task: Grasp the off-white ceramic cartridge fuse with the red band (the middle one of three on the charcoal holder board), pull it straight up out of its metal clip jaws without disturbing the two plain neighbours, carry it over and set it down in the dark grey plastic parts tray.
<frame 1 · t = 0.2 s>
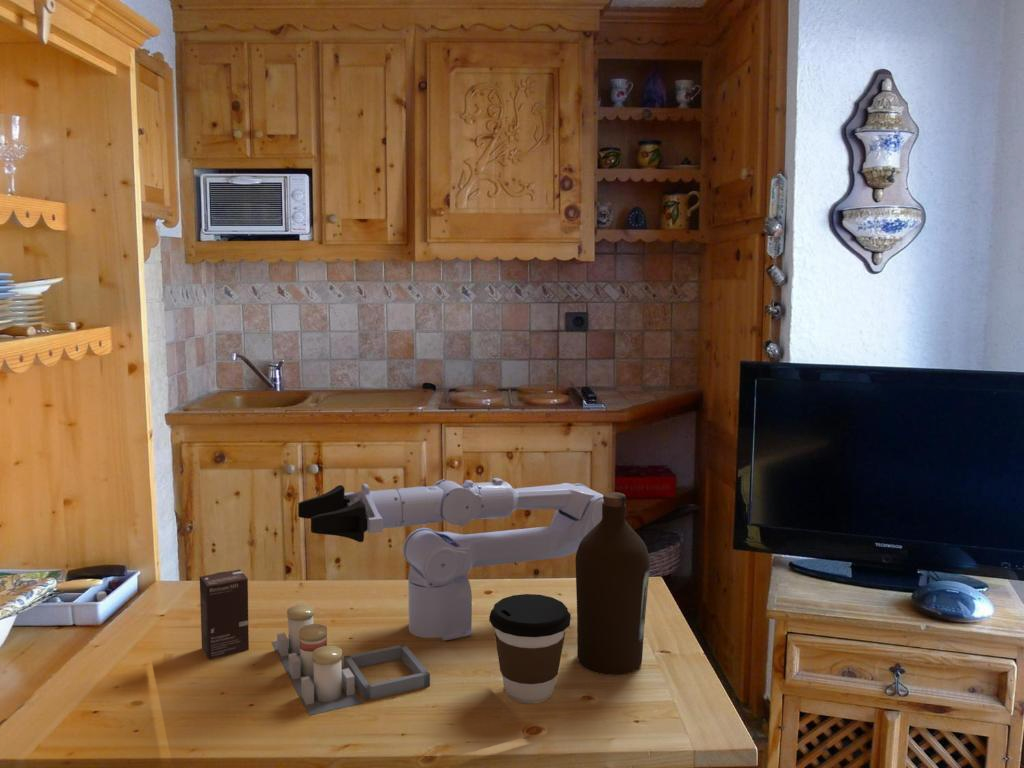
hand: (304, 517, 124), 21 cm above the table, tool horizontal, fingers open, 7 cm apart
coffee cup: (529, 693, 117), on the table
olive oil: (610, 662, 127), on the table
fuse left: (301, 648, 128), point 1 cm above the table, touching holder
box: (226, 655, 127), on the table
fuse right: (328, 694, 114), point 1 cm above the table, touching holder
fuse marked: (314, 670, 121), point 1 cm above the table, touching holder
tray: (386, 681, 120), on the table
holder: (314, 675, 121), on the table
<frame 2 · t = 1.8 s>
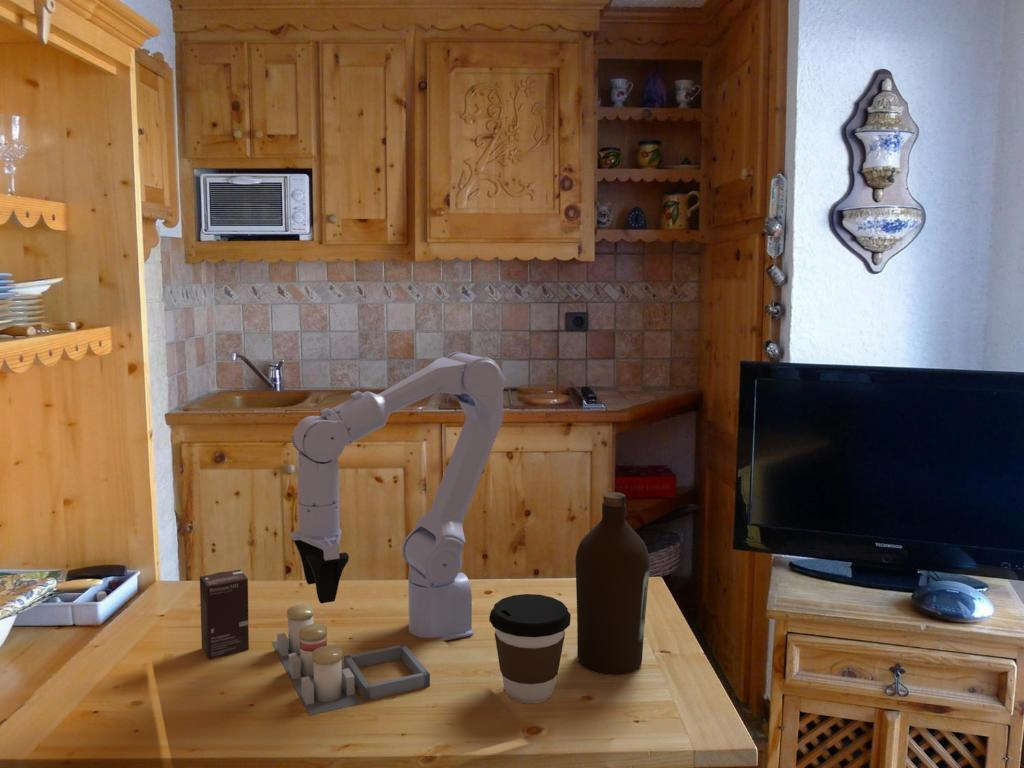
hand: (320, 592, 125), 10 cm above the table, tool pointing down, fingers open, 7 cm apart
nothing on the table moved.
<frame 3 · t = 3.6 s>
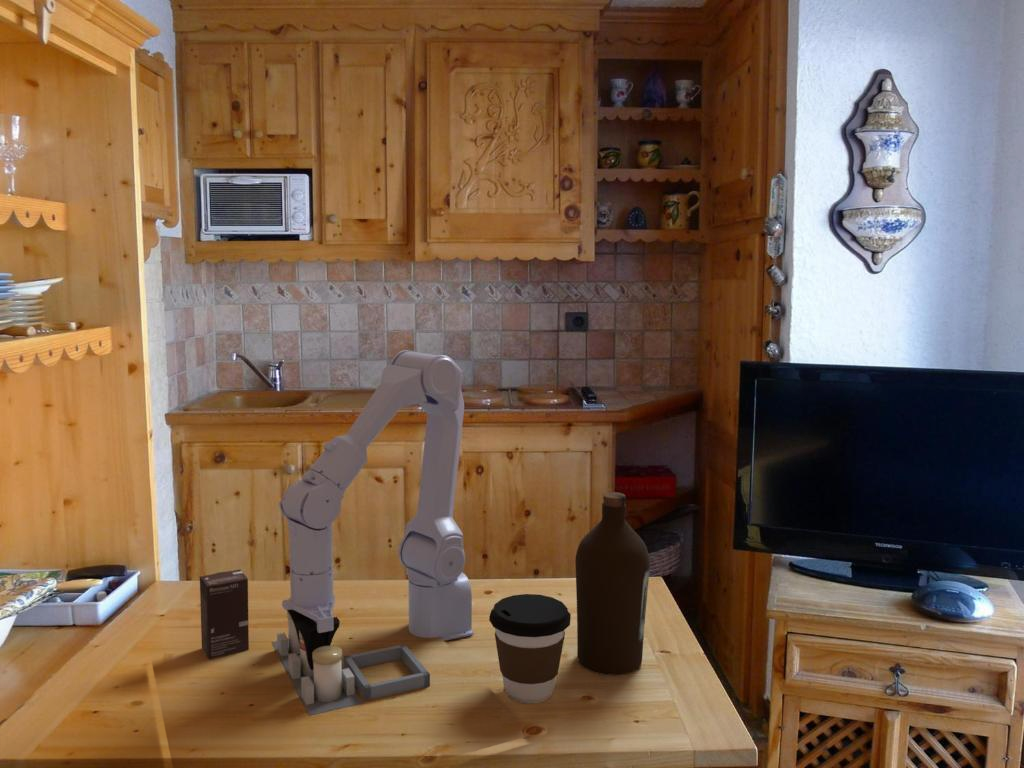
hand: (313, 661, 121), 2 cm above the table, tool pointing down, fingers closed on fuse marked, 4 cm apart
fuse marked: (314, 670, 121), point 1 cm above the table, touching gripper, holder
everything else where it was.
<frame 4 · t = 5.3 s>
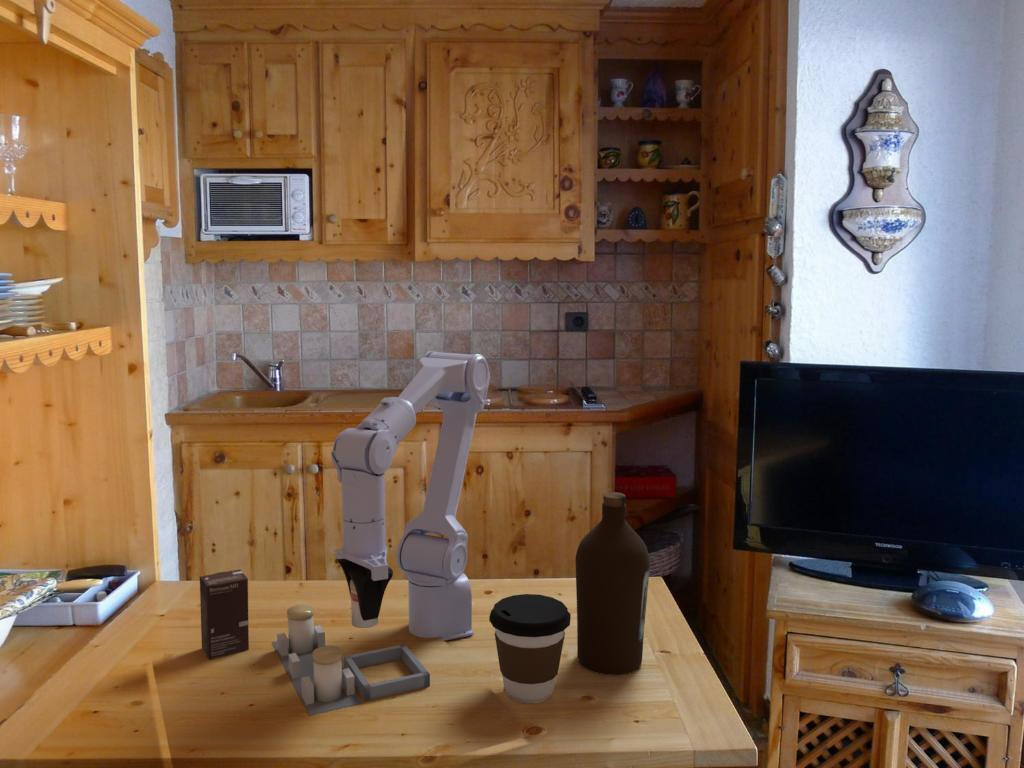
hand: (365, 612, 119), 10 cm above the table, tool pointing down, fingers closed on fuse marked, 4 cm apart
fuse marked: (364, 622, 119), point 8 cm above the table, touching gripper
everything else where it was.
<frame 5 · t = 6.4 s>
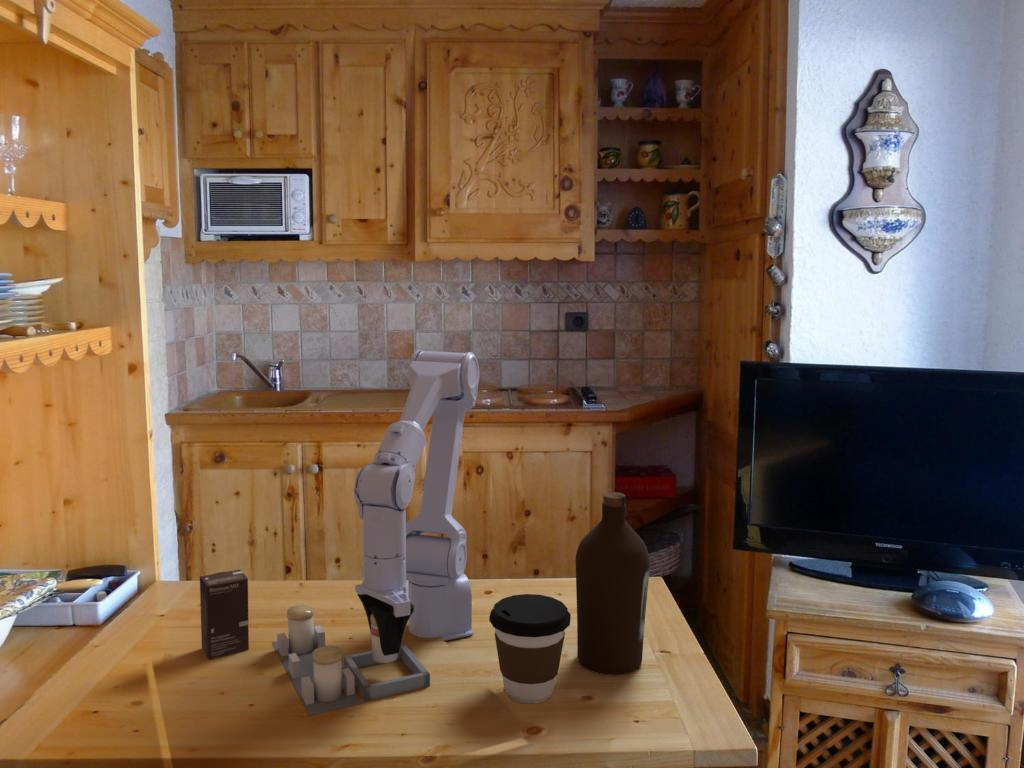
hand: (385, 647, 119), 5 cm above the table, tool pointing down, fingers closed on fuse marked, 4 cm apart
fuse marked: (385, 656, 119), point 4 cm above the table, touching gripper
everything else where it was.
when the fingers open (3 cm above the table, at t = 7.2 s): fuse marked drops 1 cm, resting on tray.
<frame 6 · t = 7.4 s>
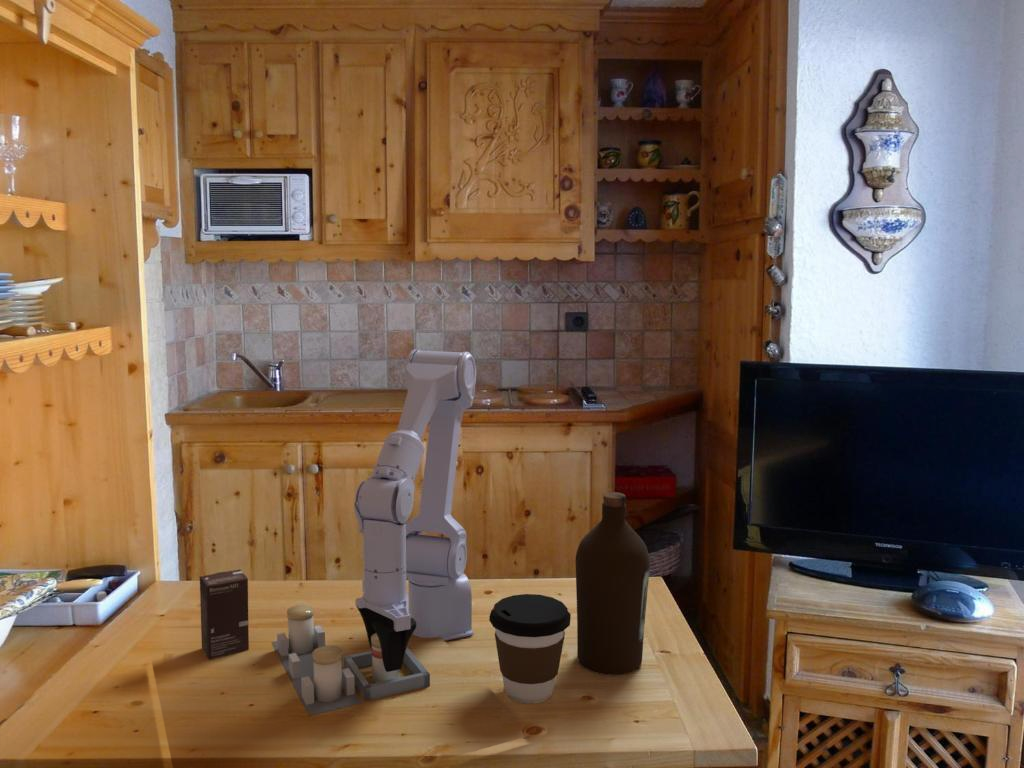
hand: (385, 660, 119), 3 cm above the table, tool pointing down, fingers open, 5 cm apart
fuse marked: (385, 678, 119), point 1 cm above the table, touching tray
everything else where it was.
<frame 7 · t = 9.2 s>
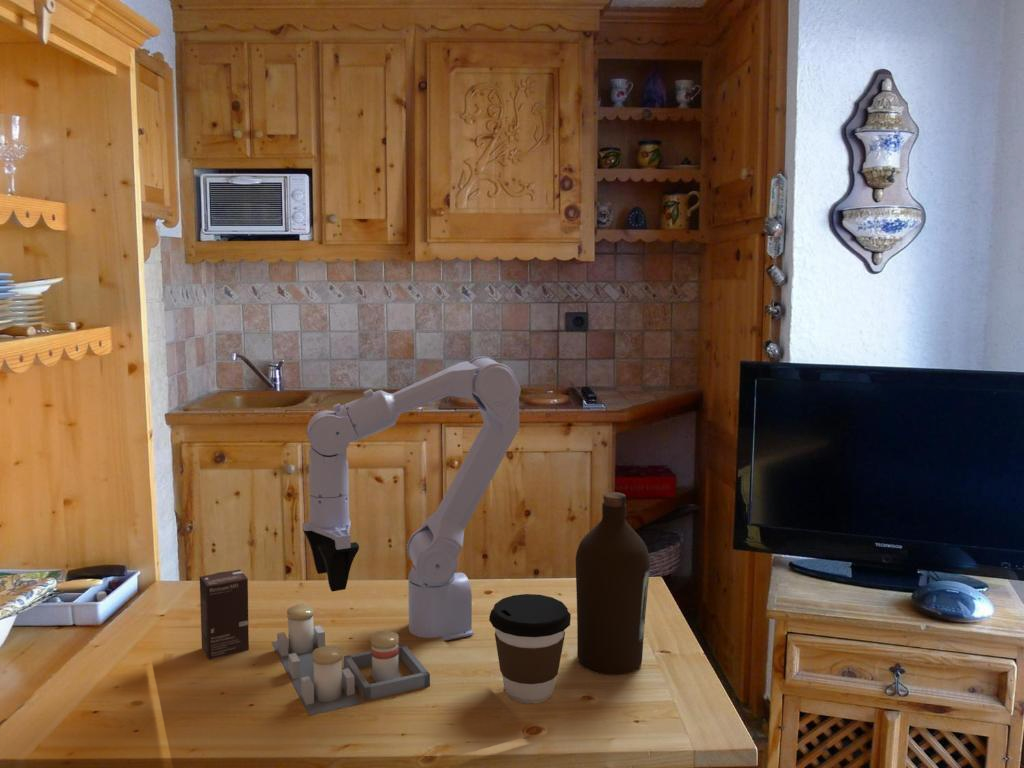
hand: (331, 580, 130), 10 cm above the table, tool pointing down, fingers open, 7 cm apart
nothing on the table moved.
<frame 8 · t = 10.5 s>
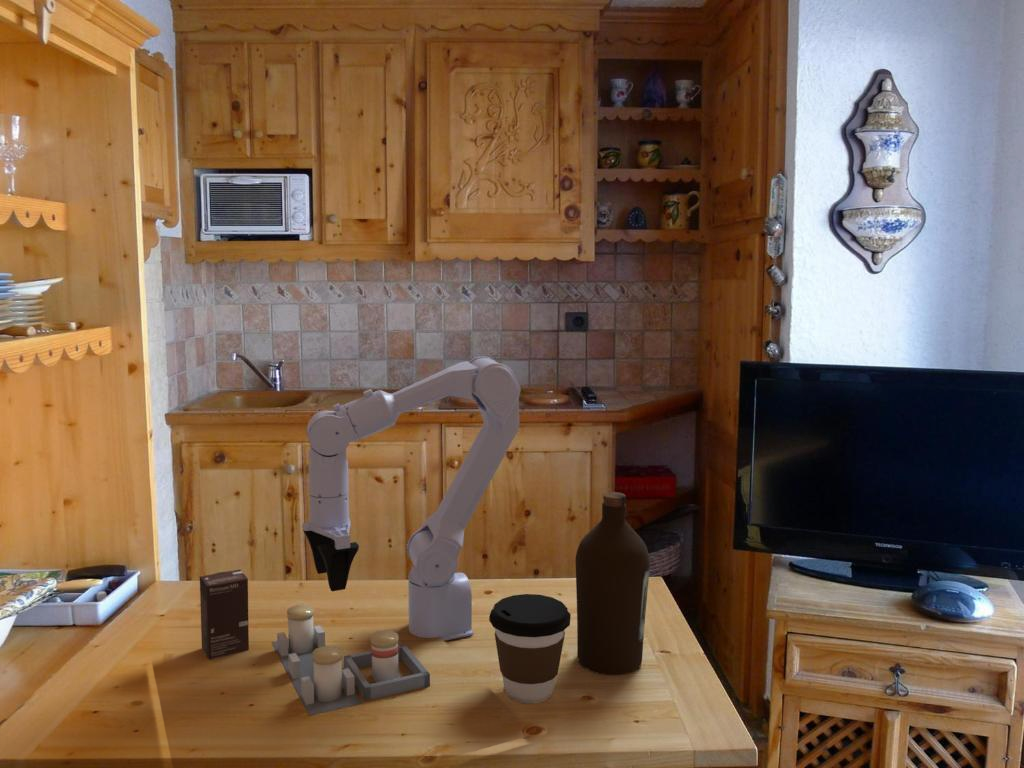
hand: (330, 580, 130), 10 cm above the table, tool pointing down, fingers open, 7 cm apart
nothing on the table moved.
at the end: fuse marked inside the target area on the tray (0.1 cm from its centre), point 0.6 cm above the tray's base; fuse left moved 0.0 cm from its start; fuse right moved 0.0 cm from its start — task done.
